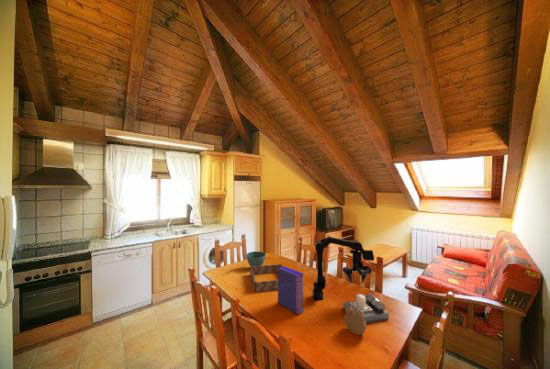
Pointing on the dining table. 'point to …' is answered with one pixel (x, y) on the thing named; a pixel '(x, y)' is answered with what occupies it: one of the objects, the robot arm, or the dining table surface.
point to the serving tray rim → (264, 284)
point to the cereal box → (290, 289)
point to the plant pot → (256, 258)
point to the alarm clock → (355, 320)
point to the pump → (360, 302)
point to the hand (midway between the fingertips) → (356, 282)
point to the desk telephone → (371, 309)
